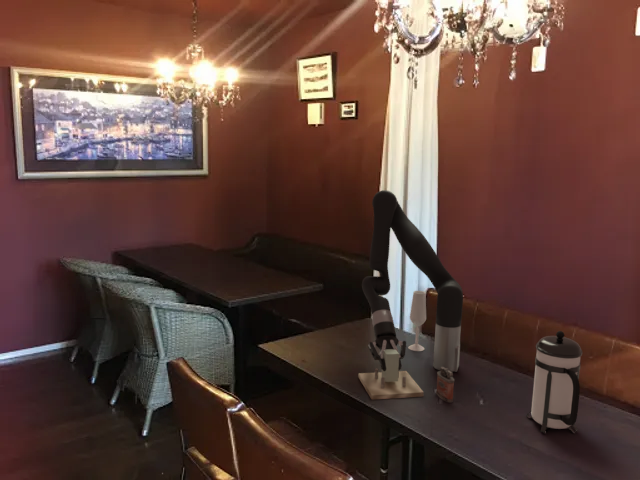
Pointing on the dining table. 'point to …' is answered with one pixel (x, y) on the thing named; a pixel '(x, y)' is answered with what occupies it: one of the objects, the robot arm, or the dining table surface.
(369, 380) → the peg board
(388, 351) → the sage block
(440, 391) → the lighter
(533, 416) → the coffee press
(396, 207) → the robot arm
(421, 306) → the champagne flute
